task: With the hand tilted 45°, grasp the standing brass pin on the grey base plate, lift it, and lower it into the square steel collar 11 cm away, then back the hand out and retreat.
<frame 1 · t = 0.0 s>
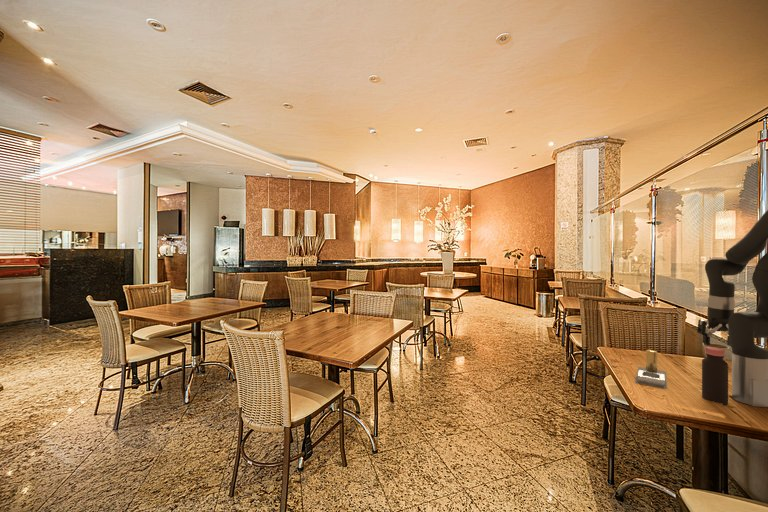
hand: (718, 345, 132), 17 cm above the table, tool pointing down, fingers open, 8 cm apart
grey base plate: (651, 379, 140), on the table
pin: (651, 373, 145), point 1 cm above the table, touching grey base plate
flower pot: (715, 363, 159), on the table
bottle: (714, 402, 119), on the table
collar: (651, 380, 136), resting on grey base plate
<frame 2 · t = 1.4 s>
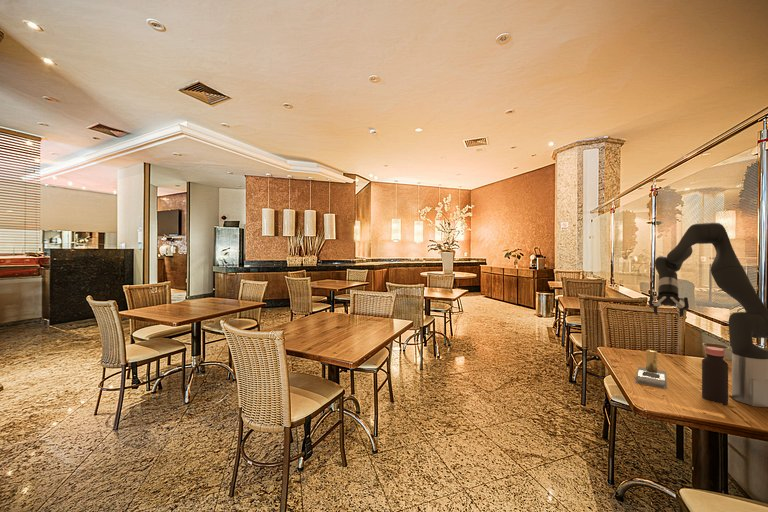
hand: (668, 315, 150), 26 cm above the table, tool tilted 45°, fingers open, 8 cm apart
nothing on the table moved.
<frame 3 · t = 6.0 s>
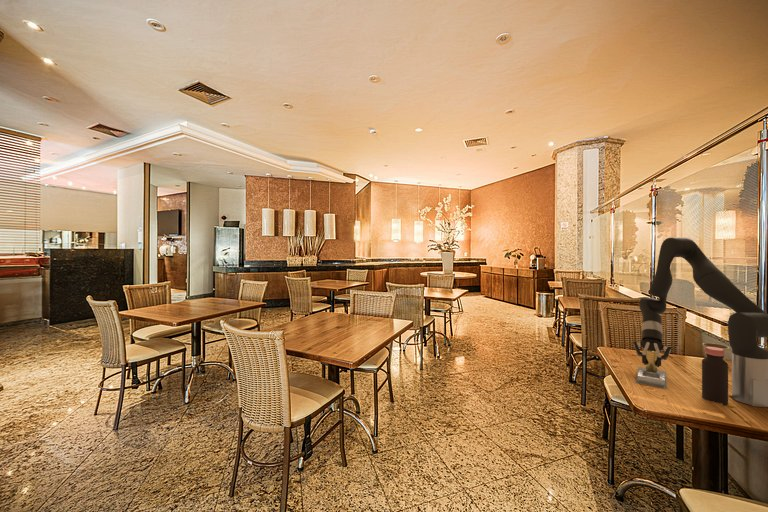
hand: (651, 364, 143), 5 cm above the table, tool tilted 45°, fingers closed on pin, 4 cm apart
pin: (651, 373, 145), point 1 cm above the table, touching gripper, grey base plate
everything else where it was.
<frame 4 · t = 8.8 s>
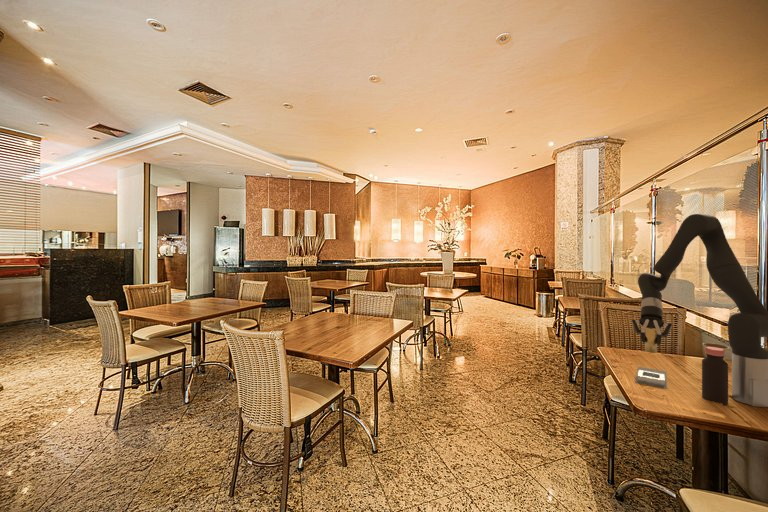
hand: (650, 342, 135), 18 cm above the table, tool tilted 45°, fingers closed on pin, 4 cm apart
pin: (650, 351, 136), point 14 cm above the table, touching gripper
everything else where it was.
when the fingers open (7 cm above the table, at t = 11.6 s): pin drops 1 cm, resting on grey base plate.
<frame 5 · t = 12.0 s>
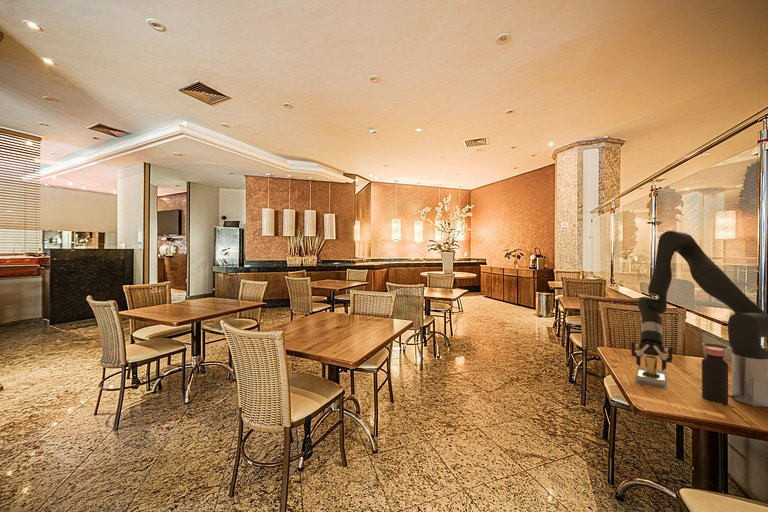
hand: (651, 367, 135), 7 cm above the table, tool tilted 45°, fingers open, 7 cm apart
pin: (651, 380, 136), point 1 cm above the table, touching grey base plate
everything else where it was.
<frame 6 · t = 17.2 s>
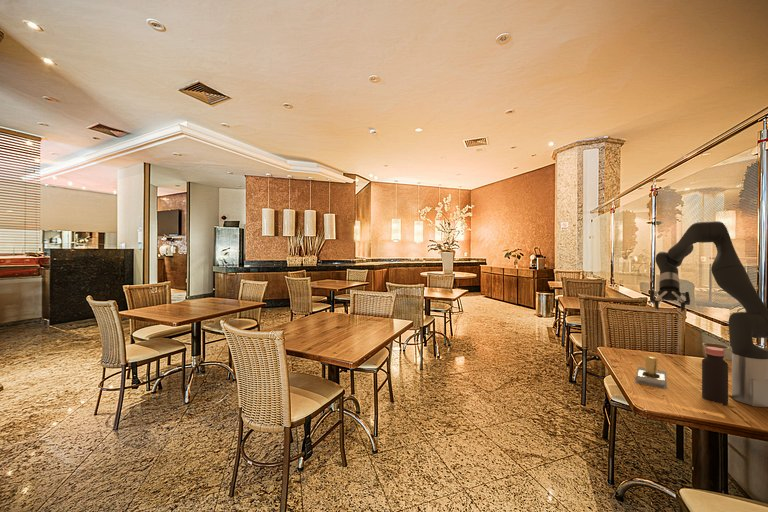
hand: (669, 309, 150), 29 cm above the table, tool tilted 45°, fingers open, 8 cm apart
nothing on the table moved.
at the end: pin 0.1 cm from the collar (horizontally); pin tilted 1°; the gripper is holding nothing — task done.
